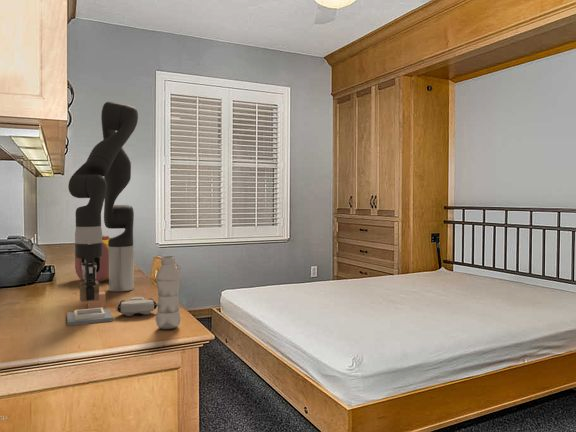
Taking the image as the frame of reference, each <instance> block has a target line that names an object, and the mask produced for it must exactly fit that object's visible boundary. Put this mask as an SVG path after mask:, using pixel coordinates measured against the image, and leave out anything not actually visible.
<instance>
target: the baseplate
mask: <svg viewBox="0 0 576 432" xmlns="http://www.w3.org/2000/svg"><path fill="white" fill-rule="evenodd" d="M66 318H67V319H66V320H67V321H66V322H67V327H71V326H79V325H86V324H87V325H88V324H95V323H104V322H113V321H114V317H113V315H112V313H111V310H110V308H106V309H103V308H92V309H89V308H85V309H74V311H71V312H66Z"/></svg>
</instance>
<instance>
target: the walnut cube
mask: <svg viewBox="0 0 576 432" xmlns="http://www.w3.org/2000/svg"><path fill="white" fill-rule="evenodd" d="M89 282H93V281H89ZM95 283H96V285H95V287H94V300H87V299H86V287H85V284H86V282H84V281H79V301H80V303H83V302H85V303H86V302H88V301H97V300H99V292H100V282H98V281H95Z"/></svg>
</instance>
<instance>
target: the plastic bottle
mask: <svg viewBox="0 0 576 432" xmlns="http://www.w3.org/2000/svg"><path fill="white" fill-rule="evenodd" d="M160 264H161V266H160V268H159V270H158V271H157V272H156V275H155V278H156V279H155V280H156V286H157V287H156V288H157V299H158V300H157V303H158V306H157V309H156V310H157V312H156V315H155V322H156V323H155V324H156V326H157V328H158V329H161V330H171V329H172V330H173V329H176V328H178V327H179V325H180V324H181V319H182V318H181V311H180V304H179V294H180V293H179V292H180V291H179V290H180V283H181V282H180V281H181V272H180V270H179V269H178V268H177V267H176V266H175V264H176V257H175V256H174V255H165V256H161V257H160Z"/></svg>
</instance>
